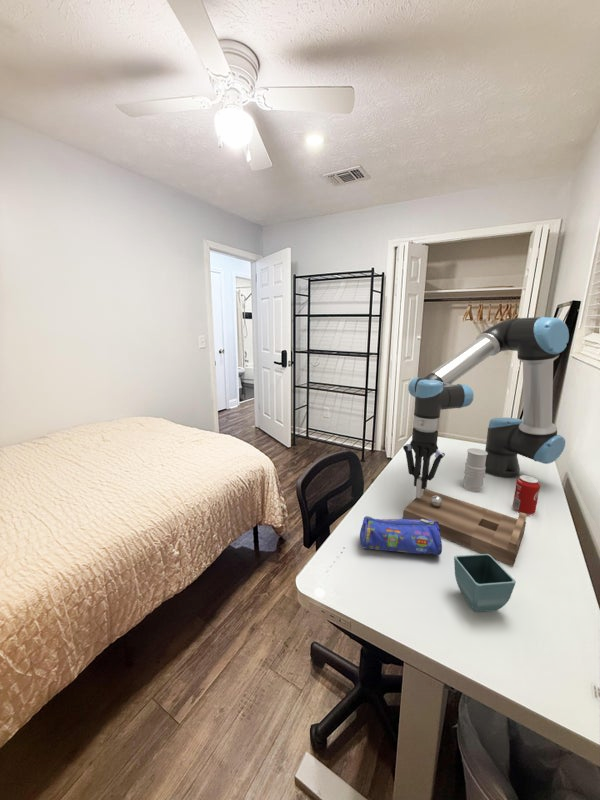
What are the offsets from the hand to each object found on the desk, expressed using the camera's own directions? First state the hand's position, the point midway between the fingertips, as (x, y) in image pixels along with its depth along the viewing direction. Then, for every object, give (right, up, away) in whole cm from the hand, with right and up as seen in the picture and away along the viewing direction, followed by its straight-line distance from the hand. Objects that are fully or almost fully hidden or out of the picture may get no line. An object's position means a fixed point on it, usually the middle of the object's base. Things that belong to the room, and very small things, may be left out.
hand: (419, 496), depth 106 cm
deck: (+10, -7, -8) cm, 15 cm away
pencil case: (-12, -10, -17) cm, 23 cm away
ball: (+4, 0, -4) cm, 6 cm away
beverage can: (+35, -6, +1) cm, 36 cm away
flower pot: (0, -14, -34) cm, 37 cm away
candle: (+26, -2, +16) cm, 31 cm away
